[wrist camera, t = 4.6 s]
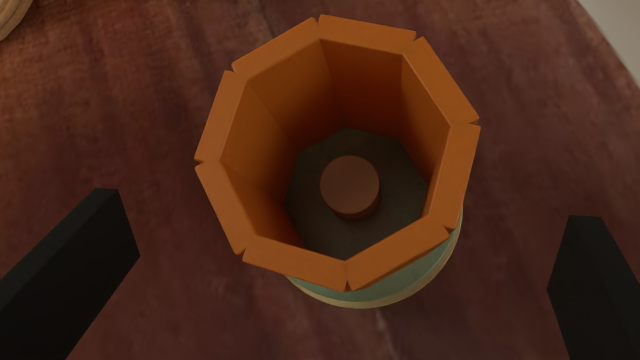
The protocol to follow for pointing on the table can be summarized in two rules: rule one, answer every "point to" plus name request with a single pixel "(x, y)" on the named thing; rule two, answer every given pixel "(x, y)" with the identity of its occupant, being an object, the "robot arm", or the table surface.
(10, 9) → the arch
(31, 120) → the table surface
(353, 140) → the stacking base
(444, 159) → the orange octagonal tube
